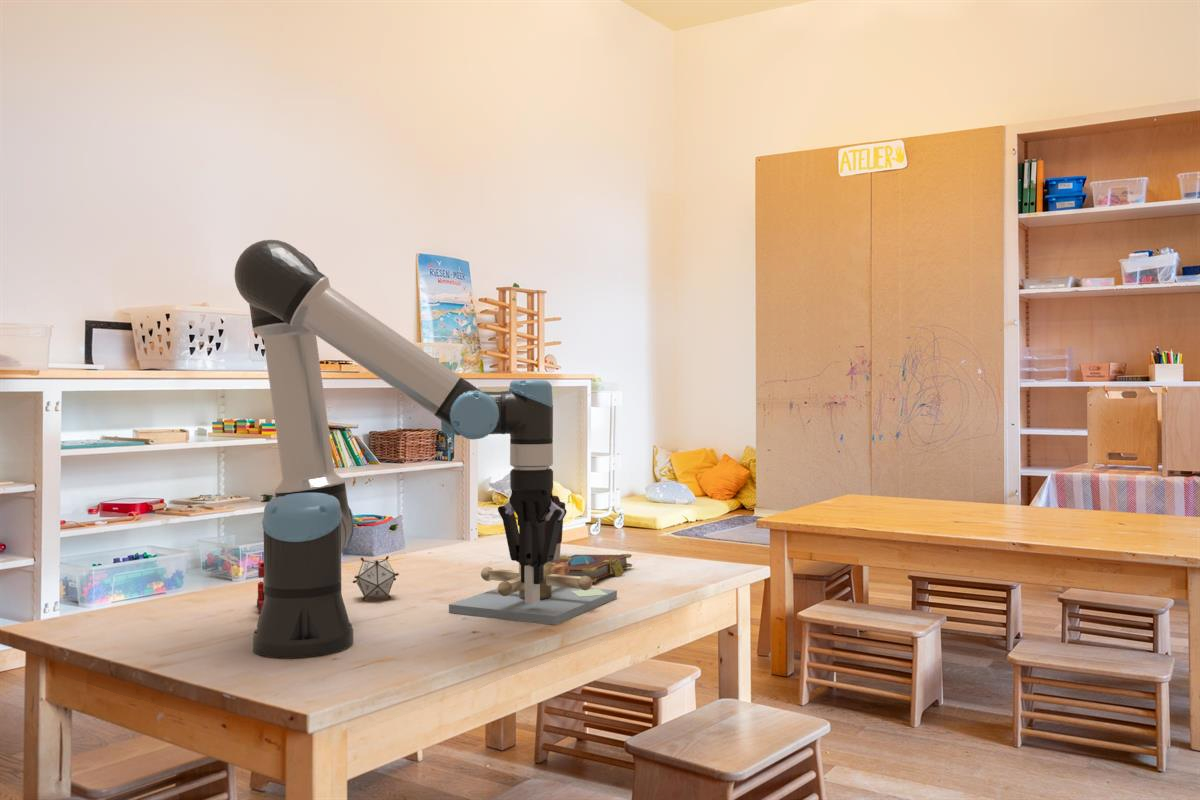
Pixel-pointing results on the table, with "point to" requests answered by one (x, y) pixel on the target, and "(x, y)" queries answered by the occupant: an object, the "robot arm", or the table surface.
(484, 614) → the plate
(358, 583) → the game die
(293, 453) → the robot arm
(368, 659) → the table surface
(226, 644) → the table surface
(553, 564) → the book
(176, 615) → the table surface
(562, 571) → the capstan
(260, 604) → the toy fire truck
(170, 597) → the table surface
